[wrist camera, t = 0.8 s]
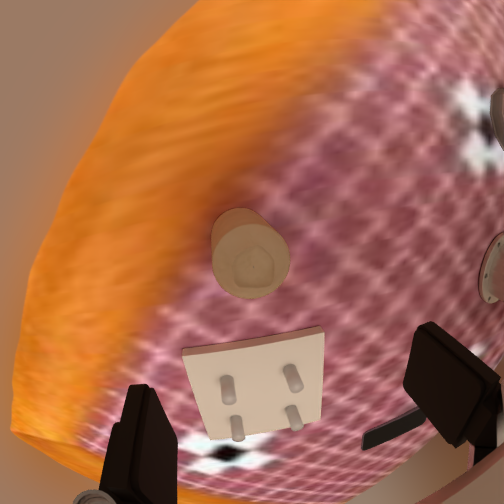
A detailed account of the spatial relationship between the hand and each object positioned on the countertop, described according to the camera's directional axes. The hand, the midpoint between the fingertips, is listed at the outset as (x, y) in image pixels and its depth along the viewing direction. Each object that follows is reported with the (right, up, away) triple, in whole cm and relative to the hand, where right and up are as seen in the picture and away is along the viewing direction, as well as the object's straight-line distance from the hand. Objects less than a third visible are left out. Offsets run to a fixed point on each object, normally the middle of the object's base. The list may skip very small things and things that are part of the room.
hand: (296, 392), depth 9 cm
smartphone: (+26, -29, +35) cm, 52 cm away
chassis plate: (-1, -13, +25) cm, 29 cm away
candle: (-3, +6, +20) cm, 21 cm away
